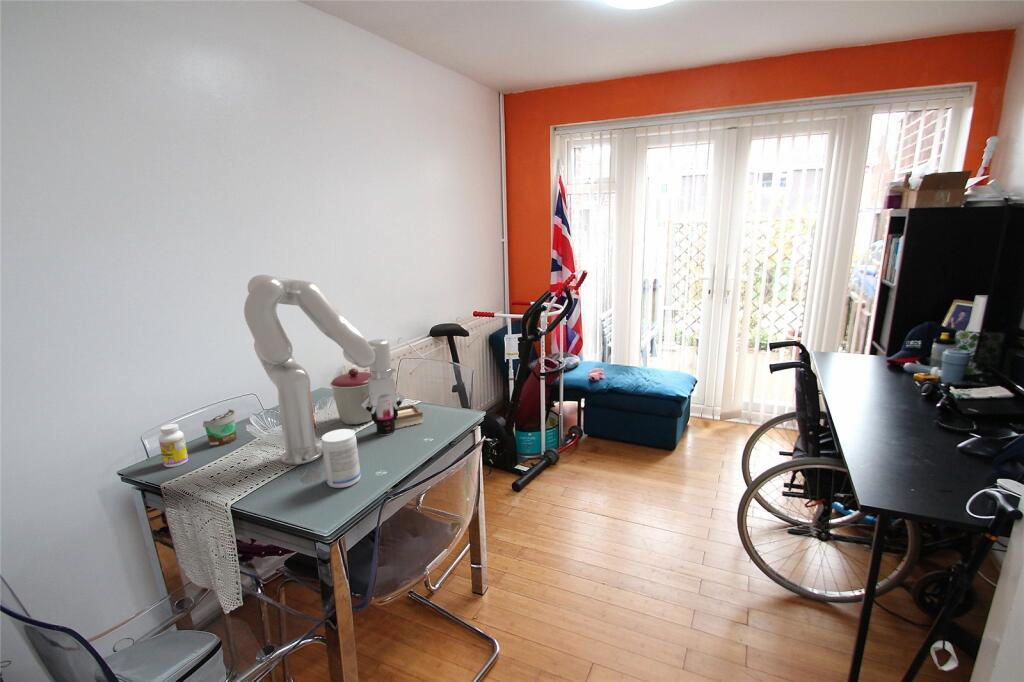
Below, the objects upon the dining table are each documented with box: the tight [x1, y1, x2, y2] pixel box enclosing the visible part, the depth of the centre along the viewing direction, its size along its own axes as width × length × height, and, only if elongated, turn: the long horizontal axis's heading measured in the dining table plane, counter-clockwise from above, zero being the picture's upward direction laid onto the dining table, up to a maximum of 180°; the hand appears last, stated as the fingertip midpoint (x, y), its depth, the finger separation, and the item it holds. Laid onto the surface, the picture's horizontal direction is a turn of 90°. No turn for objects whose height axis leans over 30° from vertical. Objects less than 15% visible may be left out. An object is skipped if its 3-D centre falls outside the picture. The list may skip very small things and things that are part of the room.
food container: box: [202, 408, 238, 447], centre depth 169 cm, size 12×6×10 cm, turn 168°
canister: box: [329, 368, 372, 425], centre depth 185 cm, size 18×18×21 cm
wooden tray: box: [394, 403, 424, 430], centre depth 184 cm, size 11×11×4 cm
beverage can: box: [375, 395, 396, 436], centre depth 173 cm, size 6×7×15 cm
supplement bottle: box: [158, 423, 189, 468], centre depth 153 cm, size 7×7×13 cm
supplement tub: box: [320, 428, 362, 489], centre depth 138 cm, size 10×10×15 cm
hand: (385, 420), depth 173 cm, fingers closed on beverage can, 6 cm apart
